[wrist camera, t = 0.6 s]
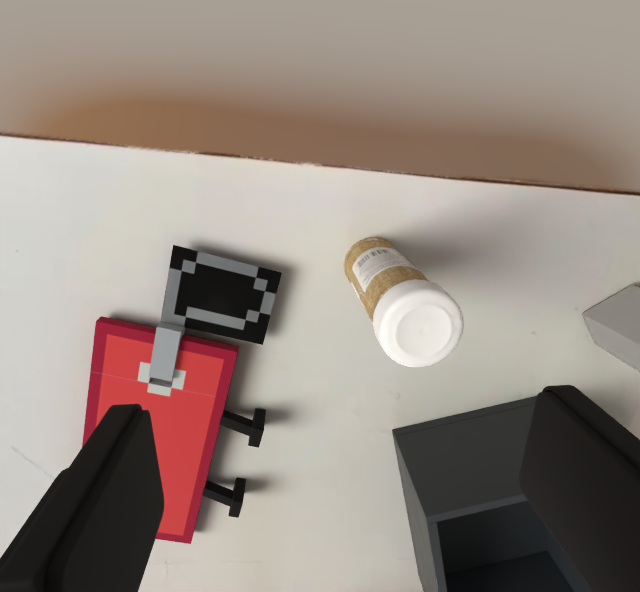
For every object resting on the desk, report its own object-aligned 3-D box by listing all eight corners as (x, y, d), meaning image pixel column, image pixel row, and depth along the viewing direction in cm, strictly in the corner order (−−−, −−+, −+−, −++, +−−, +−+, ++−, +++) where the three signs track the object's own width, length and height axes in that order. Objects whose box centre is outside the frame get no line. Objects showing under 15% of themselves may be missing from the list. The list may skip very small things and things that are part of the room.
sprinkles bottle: (347, 293, 34) (384, 377, 21) (340, 240, 32) (375, 299, 20) (400, 283, 34) (467, 362, 22) (395, 231, 33) (465, 282, 20)
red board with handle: (304, 274, 33) (114, 226, 31) (305, 286, 30) (97, 233, 28) (229, 536, 42) (80, 514, 40) (225, 562, 40) (65, 540, 38)
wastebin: (391, 429, 39) (425, 517, 30) (546, 393, 39) (627, 469, 30) (418, 576, 47) (452, 682, 38) (548, 545, 47) (613, 644, 38)
